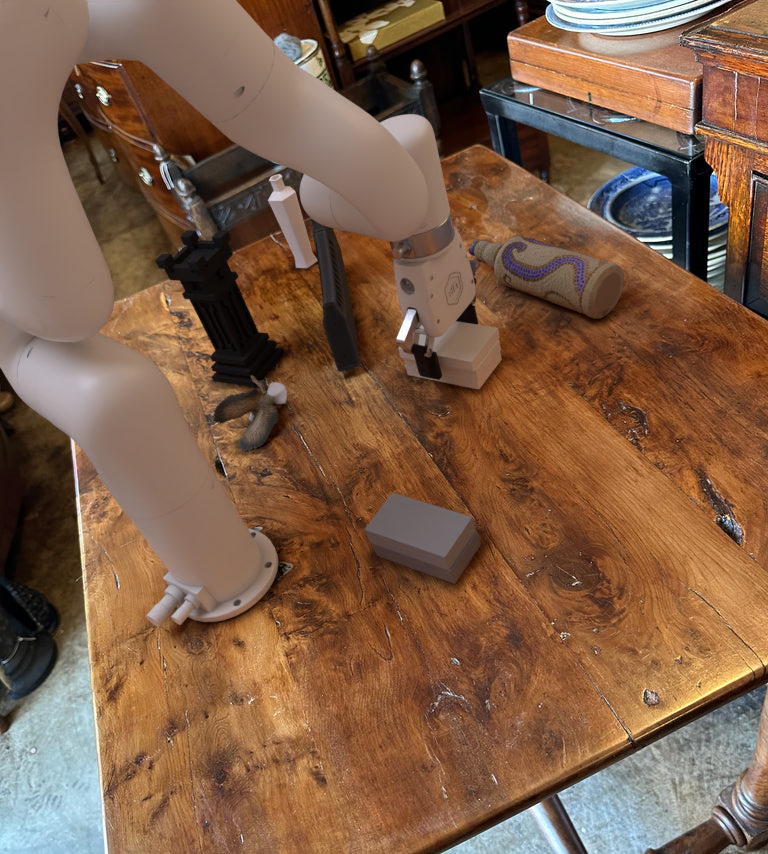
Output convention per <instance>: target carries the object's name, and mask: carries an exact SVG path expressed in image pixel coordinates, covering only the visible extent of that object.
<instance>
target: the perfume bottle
mask: <svg viewBox="0 0 768 854" xmlns="http://www.w3.org/2000/svg"><path fill="white" fill-rule="evenodd" d="M268 181H269V182H270V185H271V187H272V190H273V191H272V192H271V194H270V196H269V197H268V199H267V201H268V203H269V206H270V208H271V210H272V212H273V215H274V216H275V219H276V221H277V223H278V225H279V228H280V229H281V232H282V234H283V236H284V238H285V240H286V242H287V244H288V247H289V248H290V249H289V250H290V251H291V253H292V255H293V257H294V262H295V269H309V268H310V267H312V266H313V265H315V264H316V263H318V261H317V256H316V255H315V254H314V252H313V248H312V246H311V241H310V238H309V234H308V231H307V227H306V224H305V220H304V217H303V213H302V209H301V207H300V202H299V200H298V195H297V193H296V191H295V190H294V188H293V187H291V186H287V185H285V182H284V180H283V175H282V174H280V173H278V174H274V175H271V176H270V178H269V179H268Z"/></svg>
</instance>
